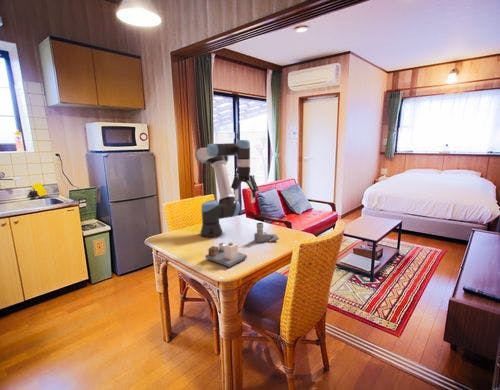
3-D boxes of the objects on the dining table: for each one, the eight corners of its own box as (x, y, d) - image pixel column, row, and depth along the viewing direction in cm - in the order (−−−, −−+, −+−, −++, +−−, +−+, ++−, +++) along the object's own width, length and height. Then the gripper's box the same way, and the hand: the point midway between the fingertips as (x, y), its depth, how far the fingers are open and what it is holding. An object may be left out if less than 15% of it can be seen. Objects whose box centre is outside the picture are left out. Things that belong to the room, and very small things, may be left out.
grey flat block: (205, 259, 151) (205, 255, 151) (223, 251, 162) (223, 247, 161) (229, 268, 140) (229, 264, 140) (247, 259, 151) (246, 255, 150)
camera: (253, 221, 179) (275, 220, 182) (253, 239, 182) (275, 237, 184) (256, 225, 171) (279, 224, 173) (256, 243, 173) (279, 242, 176)
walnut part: (208, 255, 151) (208, 248, 150) (212, 252, 154) (212, 246, 153) (215, 256, 149) (214, 249, 148) (218, 253, 153) (218, 247, 152)
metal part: (217, 251, 156) (217, 244, 156) (222, 249, 159) (221, 242, 158) (222, 252, 154) (221, 246, 153) (226, 250, 157) (226, 244, 156)
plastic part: (224, 257, 148) (224, 243, 146) (231, 254, 151) (230, 241, 150) (231, 259, 144) (230, 245, 143) (237, 256, 148) (237, 243, 147)
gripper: (224, 165, 169) (225, 199, 174) (255, 168, 153) (256, 205, 157) (233, 164, 175) (234, 197, 179) (264, 166, 159) (264, 202, 163)
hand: (244, 201), depth 168 cm, fingers open, 13 cm apart
